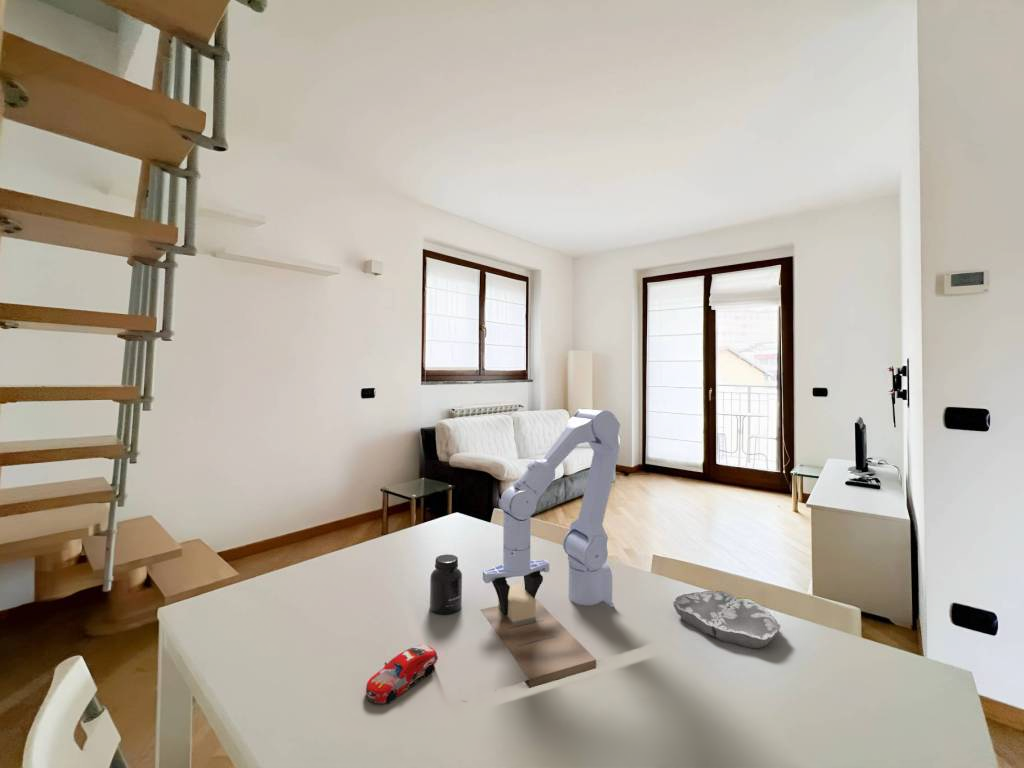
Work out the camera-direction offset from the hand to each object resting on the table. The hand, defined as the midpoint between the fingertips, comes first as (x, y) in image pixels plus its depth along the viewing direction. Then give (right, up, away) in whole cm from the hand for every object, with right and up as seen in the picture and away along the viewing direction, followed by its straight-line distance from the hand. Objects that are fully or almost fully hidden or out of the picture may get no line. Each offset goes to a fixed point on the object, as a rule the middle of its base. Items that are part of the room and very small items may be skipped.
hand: (516, 610), depth 93 cm
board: (+3, -2, -7) cm, 8 cm away
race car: (-19, -3, -19) cm, 27 cm away
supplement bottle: (-15, -2, +2) cm, 16 cm away
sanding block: (0, -1, 0) cm, 1 cm away
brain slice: (+44, -3, -1) cm, 44 cm away
